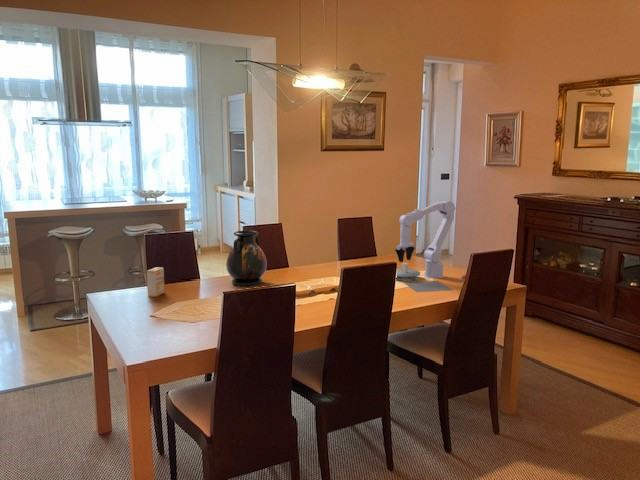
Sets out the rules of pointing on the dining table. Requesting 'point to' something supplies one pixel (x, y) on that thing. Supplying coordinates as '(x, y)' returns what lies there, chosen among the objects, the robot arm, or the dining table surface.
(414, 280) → the decorative bowl
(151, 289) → the supplement box
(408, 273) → the lid
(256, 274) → the amphora vase
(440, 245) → the robot arm
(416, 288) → the mat
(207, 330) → the dining table surface
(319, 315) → the dining table surface
